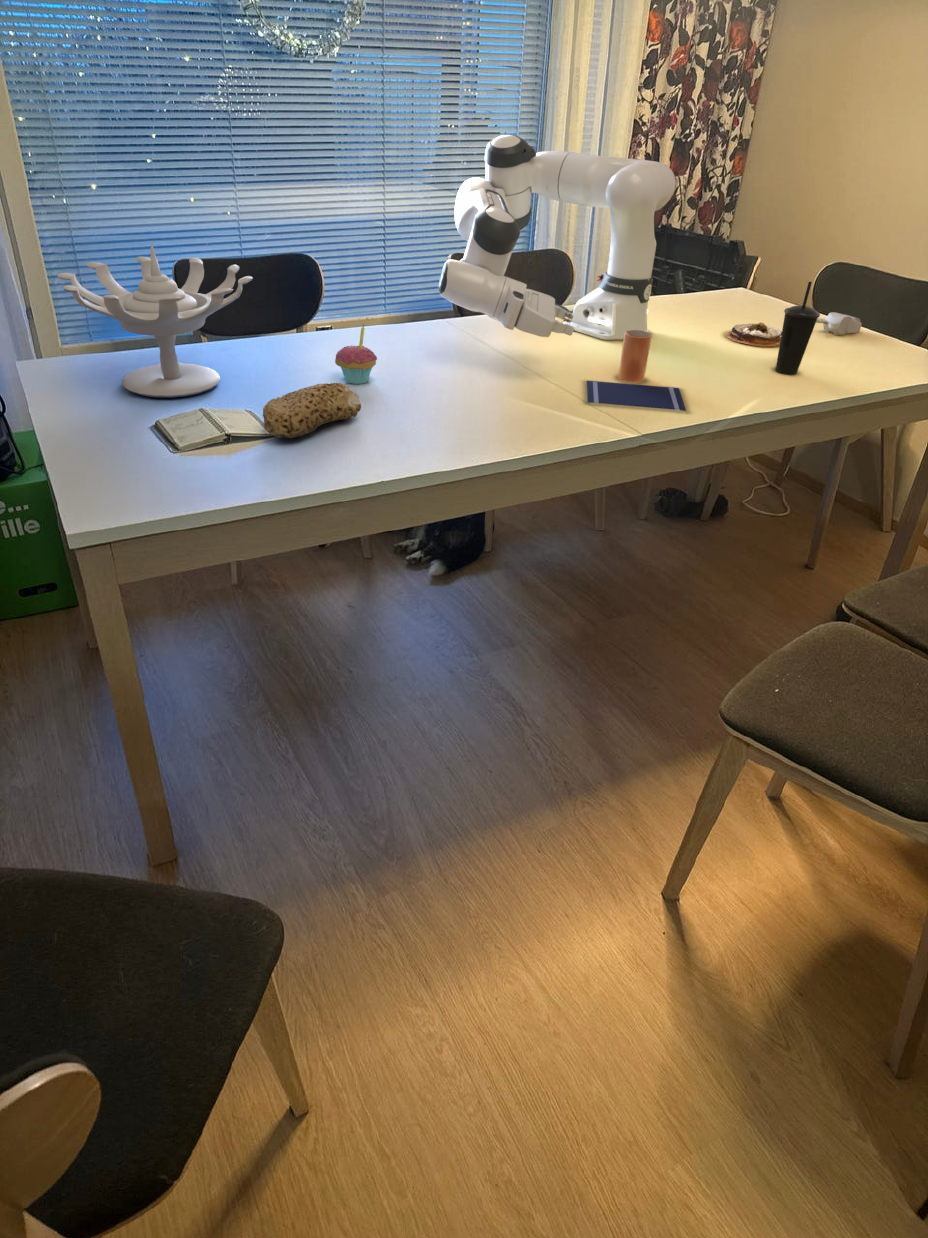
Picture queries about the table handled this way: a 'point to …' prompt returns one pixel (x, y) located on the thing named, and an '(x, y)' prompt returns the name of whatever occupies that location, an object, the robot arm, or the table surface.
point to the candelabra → (161, 320)
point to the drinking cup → (795, 336)
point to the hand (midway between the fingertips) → (572, 324)
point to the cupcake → (356, 362)
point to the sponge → (309, 409)
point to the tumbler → (634, 356)
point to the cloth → (634, 395)
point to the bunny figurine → (840, 323)
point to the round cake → (755, 334)
